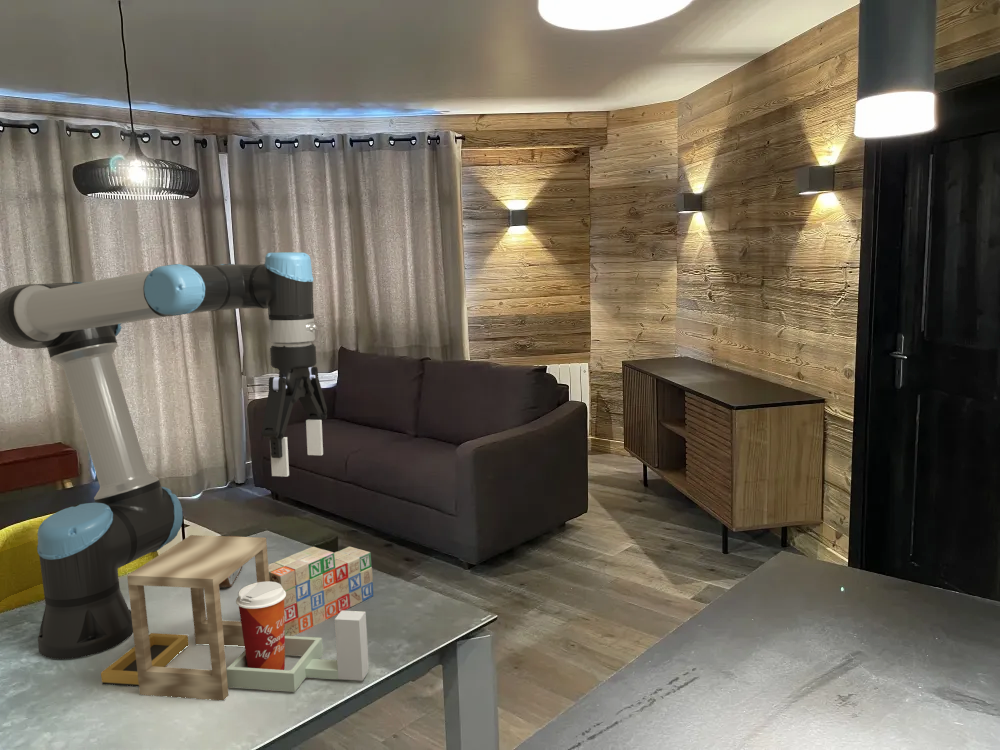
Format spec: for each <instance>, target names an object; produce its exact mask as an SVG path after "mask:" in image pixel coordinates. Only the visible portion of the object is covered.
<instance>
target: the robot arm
mask: <svg viewBox="0 0 1000 750" xmlns="http://www.w3.org/2000/svg"><path fill="white" fill-rule="evenodd" d="M264 260H265V261H264V263H262V264H247V263H246V264H245V263H244V264H242V263H241V264H239V263H238V264H237V263H236V264H234V263H220V264H181V263H176V264H166V265H161V266H157V267H155V268H154V269H152V270H149V271H148V270H147V271H144V272H142V271H141V272H137V273H131V274H126V275H120V276H114V277H109V278H103V279H98V280H92V281H86V282H81V281H72V282H57V283H54V282H53V283H39V284H38V283H36V284H35V283H32V284H31V283H29V284H28V283H26V284H19V285H14V286H11V287H8V288H6V289H5V290H2V291H1V292H0V339H1V340H2V341H4V342H6V343H7V344H8V345H10V346H13V347H16V348H20V349H28V350H35V349H47V352H48V355H49V358H50V360H51V361H52V362H54V363H56V364H58V365H60V366H61V367H62V369H63V372H64V375H65V379H66V381H67V384H68V388H69V391H70V394H71V397H72V401H73V404H74V407H75V410H76V414H77V417H78V420H79V423H80V426H81V430H82V432H83V433H82V434H83V435H84V440H85V442H86V446H87V449H88V452H89V455H90V459H91V462H92V465H93V468H94V471H95V474H96V477H97V482H98V484H99V489H98V491H97V492H96V494H95V496H94V497H93V499H94V502H88V503H80V504H78V505H77V506H70V507H66V508H64V509H61V510H59V511H57V512H55V513H52V514H51V515H49V516H48V517H46V519H44V520H43V521H42V522H41V524H39V527H38V529H37V546H36V547H37V548H36V549H37V554H38V556H39V563H40V564H39V565H40V570H41V578H42V587H43V588H42V589H43V596H44V602H45V606H44V609H43V616H42V618H41V619H42V620H41V624H40V628H39V633H38V634H37V635H38V636H37V645H38V651H39V652H38V653H39V654H41V656H43V657H45V658H48V659H51V660H52V659H53V660H73V659H78V658H84V657H85V658H86V657H89V656H93V655H96V654H99V653H102V652H104V651H108V650H110V649H113V648H114V647H117V646H119V645H120V644H122V643H123V642H125V641H126V640H128V638H129V639H130V636H132V635H133V626H132V616H131V609H129V607H128V604H127V602H126V600H125V598H124V596H123V593H122V592H121V588H120V581H119V568H122V567H124V566H126V565H128V564H130V563H132V562H134V561H136V560H138V559H140V558H143V557H144V556H147V555H148V554H150V553H155V552H157V551H160V549H162V548H163V547H164V546H166V545H167V544H170V543H171V542H172V541H173V540H175V538H176V537H177V536H178V533H179V531H180V530H181V528H182V524H183V517H184V516H183V508H182V504H181V501H180V499H179V498H178V496H177V495H176V494H175V493H173V491H172V490H171V489H170V488H169V487H165V486H162V484H161V481H160V478H159V477H157V476H155V475H153V474H151V473H150V472H149V471H148V469H147V464H146V462H145V459H144V455H143V452H142V449H141V446H140V441H139V439H138V435H137V432H136V429H135V425H134V422H133V419H132V415H131V413H130V410H129V407H128V404H127V399H126V397H125V394H124V390H123V386H122V384H121V380H120V377H119V374H118V370H117V367H116V364H115V361H114V358H113V357H114V356H113V354H114V352H115V351H116V349H117V347H118V345H119V344H118V341H117V338H116V337H117V336H118V335H119V334H120V332H121V331H122V328H123V327H122V326H121V325H122V324H126V323H128V324H129V323H133V322H134V323H135V322H141V321H146V320H152V319H153V320H154V319H159V318H167V317H175V316H176V317H177V316H181V315H189V314H196V313H197V314H198V313H205V312H218V311H229V310H236V309H265V310H266V309H267V315H268V334H269V335H268V336H269V337H268V338H269V339H268V340H269V342H270V343H271V344H273V345H271V346H270V347H269V350H270V351H269V352H270V365H271V367H272V368H274V369H277V370H278V371H279V372H278V376H274V377H273V376H270V377H269V378H268V394H267V399H266V406H265V411H264V416H263V423H262V427H261V437H263V438H264V439H269V448H270V465H271V477H282V478H283V477H289V476H290V466H289V464H290V463H289V449H288V448H289V447H288V436H285V434H286V431H287V427H288V425H289V420H290V417H291V413H292V410H293V407H294V404H296V403H297V402H298V400H299V402H300V403H301V406H302V407H303V410H304V411H305V413H306V415H307V418H308V419H306V420H305V424H306V426H305V428H306V429H305V431H306V447H307V448H306V449H307V456H320V457H321V456H323V455H324V447H323V446H324V445H323V444H324V443H323V424H322V422H323V421H322V420H326V419H327V418H328V413H327V412H328V407H327V403H326V401H325V396H324V393H323V389H322V386H321V383H320V379H319V371H318V367H317V366H316V364H317V350H316V349H317V348H316V345H315V344H314V343H313V342H314V341H315V340H316V330H317V327H318V326H317V325H316V324H315V314H314V276H313V267H312V258H311V256H310V255H309V254H308V253H306V252H303V251H302V252H298V251H297V252H295V251H294V252H293V251H291V252H288V251H287V252H285V251H284V252H267V253H266V255H265V256H264Z"/></svg>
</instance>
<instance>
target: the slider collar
mask: <svg viewBox="0 0 1000 750" xmlns="http://www.w3.org/2000/svg"><path fill="white" fill-rule="evenodd" d="M366 615H367V613H366V611H361V610H358V611H355V610H344V611H341V612H340V613H338V614H337V616H336V617H335V618H334V631H335V632H334V633H335V646H336V647H335V648H336V659H324V658H322V657H323V655H324V649H323V648H324V647H323V637H317V636H316V637H314V636H313V637H312V636H297V635H294V636H285V656H297V657H298V656H299V657H300V659H298V661H297V662H296V663H295V665H294V666H293V667H292V668H291V669H290V670H286V669H284V670H275V669H259V668H248V665H247V659H246V652H245V650H244V651H242V653H241V654H239V655H238V657H237V658H236V659H235V660H233V662H232V663H230V665H229V666H228V667H226V671H227V683H228V688H233V689H247V690H249V689H251V690H263V691H264V690H265V691H277V692H278V691H280V692H291V693H292V692H293V693H295V692H296V691H297V690H298V689H299V688H300V686H301V685H302V683H303V682H304V681H305V679H306V678H309V679H310V678H311V679H325V680H326V679H327V680H347V681H348V680H351V681H364V679H365V677H366V676H367V674H368V673H369V671H370V668H369V667H370V665H369V647H368V632H367V631H368V630H367V627H368V626H367V616H366Z"/></svg>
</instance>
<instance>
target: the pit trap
mask: <svg viewBox="0 0 1000 750" xmlns="http://www.w3.org/2000/svg"><path fill="white" fill-rule="evenodd" d="M149 641H150V650H151V660H152V666H156V667H167V666H168V665H169V664H170V663H171V662H172V661H173V660H174V659H173V658H174V657H175V656H176V655H177V654H179V652H180V651H182V650H183V649H184V648H185V647H186V646H188V645H189V644H190V643H189V636H188V634H178V633H177V634H176V633H175V634H174V633H158V632H157V633H156V632H150V633H149ZM189 646H190V645H189ZM189 646H188V647H189ZM182 652H183V651H182ZM179 655H180V654H179ZM172 659H173V660H172ZM171 660H172V661H171ZM170 661H171V662H170ZM169 662H170V663H169ZM168 663H169V664H168ZM167 664H168V665H167ZM166 665H167V666H166ZM100 676H101V684H102V686H104V685H105V686H121V687H131V688H132V687H134V688H139V682H138V673H137V663H136V654H135V645H134V646H133V647H132V648H130V649H129V650H128V651H127V652H125V653H124V654H122V656H120V657H119V658H117V660H115V661H113V662H112V663H111V664H110V665H108V667H106V668H105V669H103V670H102V671H101V672H100Z"/></svg>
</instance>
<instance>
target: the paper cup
mask: <svg viewBox="0 0 1000 750" xmlns="http://www.w3.org/2000/svg"><path fill="white" fill-rule="evenodd" d="M285 597H286V592H285V591H284V590H283V588H282V586H281V584H279V583H277V582H270V581H266V582H257V581H256V582H255V583H251V584H248V585H245V586H243V587H242V588H241V589H240V590H239V591H238V594H237V598H236V599H235V603H236V605H237V606H238V611H239V617H240V621H241V625H242V632H243V639H244V646H245V648H244V651H245V652H246V659H247V665H248V668H259V669H275V670H285V668H286V667H285V665H286V655H285V618H284V598H285Z"/></svg>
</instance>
